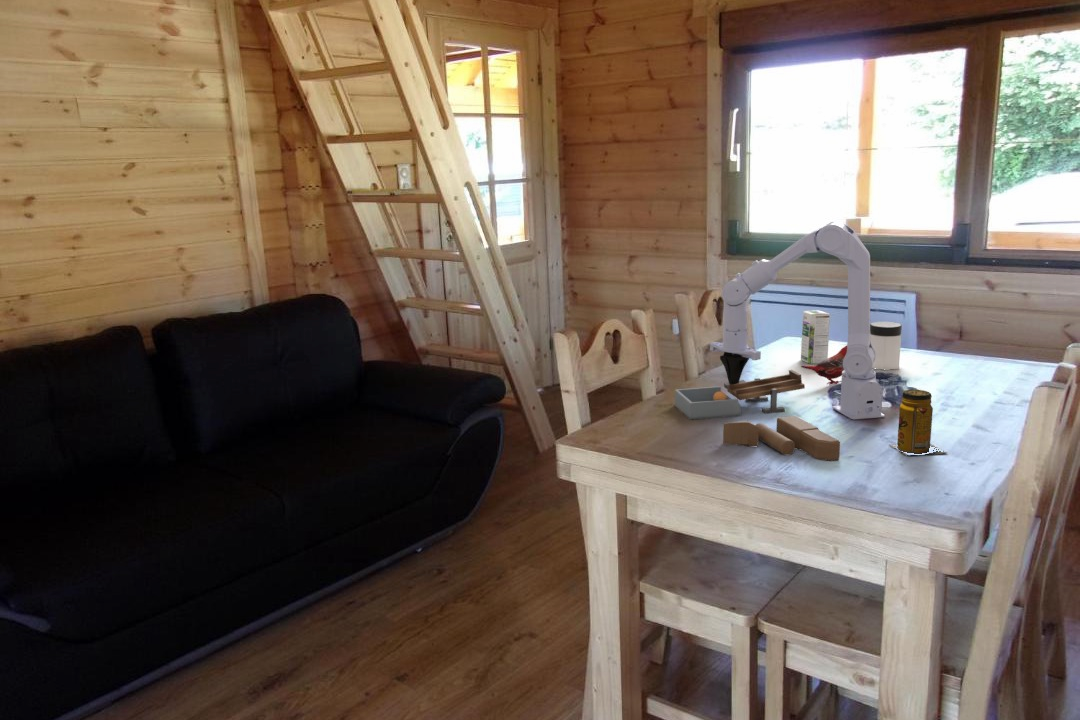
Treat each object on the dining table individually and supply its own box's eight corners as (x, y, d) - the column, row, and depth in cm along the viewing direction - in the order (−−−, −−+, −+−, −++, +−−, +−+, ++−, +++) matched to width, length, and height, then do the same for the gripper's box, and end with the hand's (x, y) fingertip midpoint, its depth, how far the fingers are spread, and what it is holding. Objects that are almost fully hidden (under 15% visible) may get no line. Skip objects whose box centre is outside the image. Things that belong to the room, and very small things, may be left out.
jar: (867, 362, 238) (869, 320, 235) (898, 363, 235) (900, 321, 233) (867, 369, 230) (870, 327, 227) (899, 371, 227) (902, 328, 224)
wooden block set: (793, 409, 180) (842, 435, 163) (792, 434, 181) (841, 462, 164) (721, 417, 176) (763, 444, 159) (720, 443, 177) (763, 472, 160)
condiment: (888, 445, 171) (892, 388, 168) (927, 442, 172) (932, 386, 169) (907, 457, 164) (911, 398, 161) (948, 454, 165) (952, 395, 162)
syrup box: (799, 360, 243) (801, 310, 240) (818, 358, 244) (820, 309, 241) (809, 364, 238) (811, 314, 235) (828, 362, 239) (830, 312, 236)
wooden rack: (783, 376, 208) (783, 364, 207) (804, 388, 197) (803, 376, 196) (722, 387, 206) (721, 376, 205) (739, 400, 195) (738, 388, 194)
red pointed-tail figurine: (859, 382, 218) (861, 344, 216) (803, 390, 212) (805, 352, 210) (851, 379, 221) (853, 342, 218) (796, 388, 215) (797, 350, 212)
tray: (740, 415, 194) (740, 399, 193) (690, 419, 192) (690, 403, 191) (722, 401, 205) (722, 386, 204) (674, 405, 204) (674, 389, 203)
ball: (716, 406, 197) (728, 404, 197) (715, 394, 196) (727, 392, 197) (712, 403, 200) (724, 400, 200) (710, 391, 199) (722, 388, 200)
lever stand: (765, 398, 206) (765, 377, 205) (784, 411, 195) (785, 389, 194) (745, 400, 206) (746, 378, 204) (764, 413, 195) (765, 390, 193)
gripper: (770, 331, 197) (768, 386, 201) (724, 322, 209) (723, 375, 212) (749, 335, 194) (748, 392, 197) (704, 326, 205) (703, 379, 208)
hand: (733, 383), depth 204 cm, fingers closed, pressing on wooden rack
